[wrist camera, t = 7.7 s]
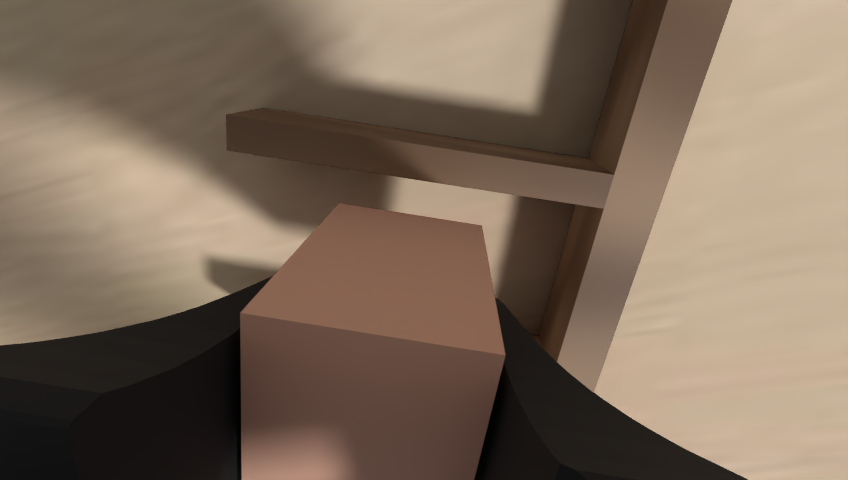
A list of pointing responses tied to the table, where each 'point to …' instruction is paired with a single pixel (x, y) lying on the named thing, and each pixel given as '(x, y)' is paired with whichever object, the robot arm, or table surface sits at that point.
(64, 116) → the table surface
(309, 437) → the terracotta block
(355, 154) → the notched rack
